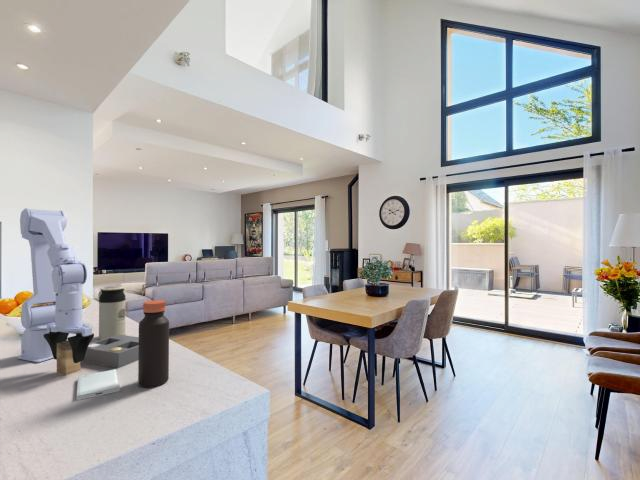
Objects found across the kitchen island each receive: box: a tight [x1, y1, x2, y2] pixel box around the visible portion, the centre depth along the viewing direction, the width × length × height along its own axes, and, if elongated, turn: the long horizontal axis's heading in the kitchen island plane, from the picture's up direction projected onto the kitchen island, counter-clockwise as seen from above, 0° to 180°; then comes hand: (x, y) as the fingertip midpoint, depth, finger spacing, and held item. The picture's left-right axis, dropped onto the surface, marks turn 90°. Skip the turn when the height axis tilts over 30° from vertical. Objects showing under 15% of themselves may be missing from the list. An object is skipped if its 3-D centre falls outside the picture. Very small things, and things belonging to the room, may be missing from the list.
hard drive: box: [76, 369, 121, 401], centre depth 79 cm, size 2×8×12 cm
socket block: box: [82, 334, 139, 369], centre depth 98 cm, size 16×13×4 cm
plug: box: [56, 339, 81, 376], centre depth 87 cm, size 4×4×8 cm
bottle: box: [137, 299, 170, 389], centre depth 81 cm, size 7×7×20 cm
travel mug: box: [98, 285, 126, 340], centre depth 117 cm, size 8×8×18 cm
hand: (68, 359), depth 87 cm, fingers open, 7 cm apart
